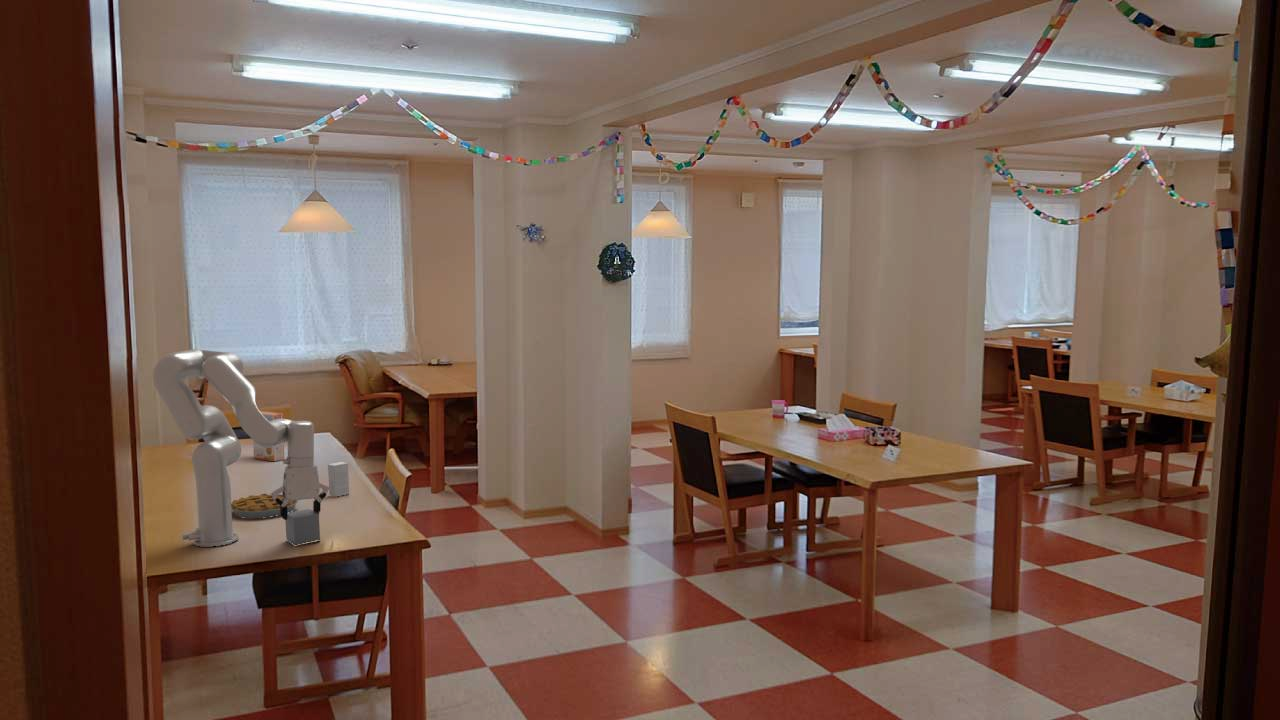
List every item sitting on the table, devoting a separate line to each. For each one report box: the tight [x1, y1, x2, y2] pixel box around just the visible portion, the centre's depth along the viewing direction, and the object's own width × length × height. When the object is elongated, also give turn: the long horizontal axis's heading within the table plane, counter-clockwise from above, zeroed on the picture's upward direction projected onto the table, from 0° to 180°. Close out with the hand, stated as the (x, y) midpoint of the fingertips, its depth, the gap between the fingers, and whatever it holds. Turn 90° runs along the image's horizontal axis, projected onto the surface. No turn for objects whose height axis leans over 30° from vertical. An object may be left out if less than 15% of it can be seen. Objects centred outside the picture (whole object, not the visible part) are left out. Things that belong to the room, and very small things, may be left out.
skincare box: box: [327, 461, 350, 498], centre depth 351 cm, size 6×4×12 cm
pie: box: [231, 493, 299, 519], centre depth 328 cm, size 22×22×5 cm
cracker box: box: [252, 410, 285, 462], centre depth 417 cm, size 14×6×21 cm, turn 58°
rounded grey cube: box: [285, 508, 321, 545], centre depth 291 cm, size 8×8×9 cm
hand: (300, 516), depth 290 cm, fingers open, 9 cm apart
